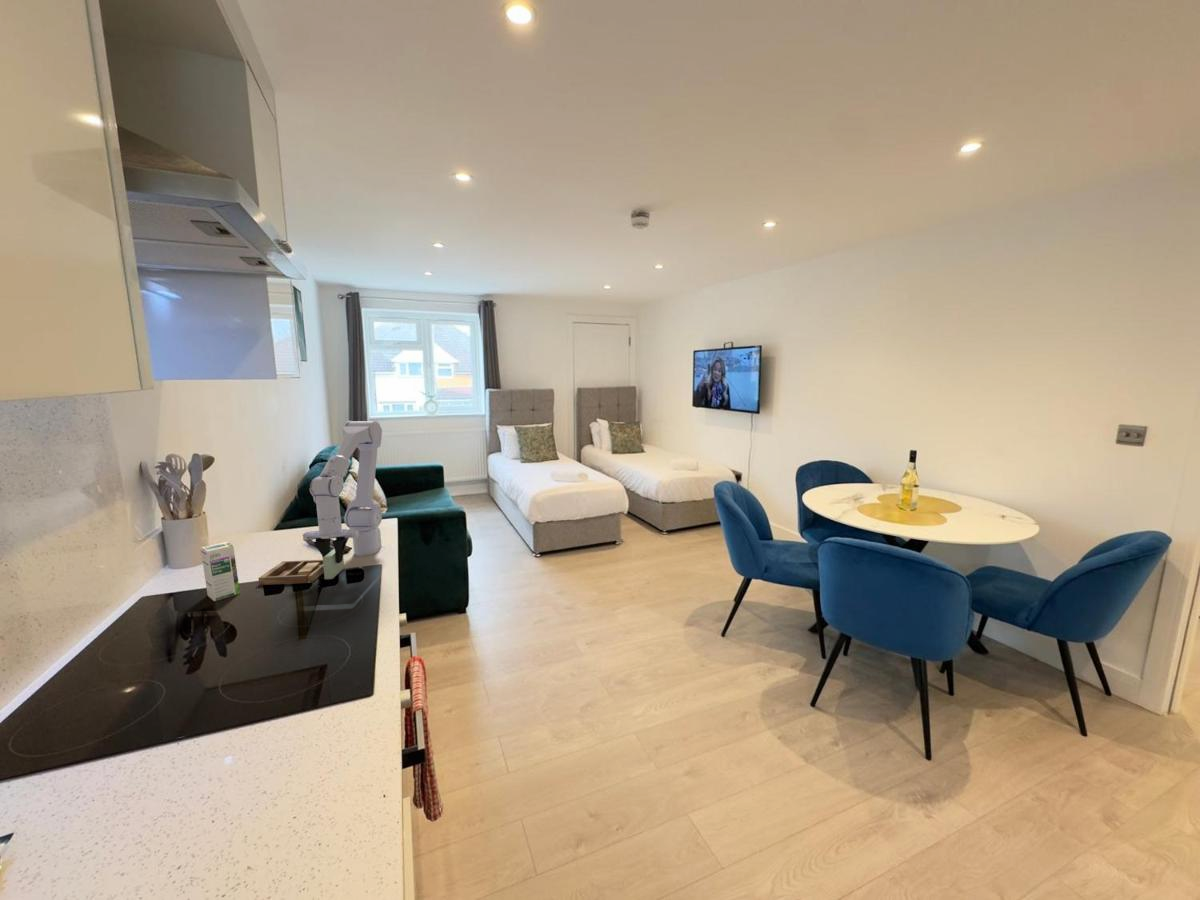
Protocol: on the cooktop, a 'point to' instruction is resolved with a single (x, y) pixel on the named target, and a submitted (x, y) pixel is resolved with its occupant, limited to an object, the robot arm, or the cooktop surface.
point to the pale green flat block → (332, 565)
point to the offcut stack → (309, 569)
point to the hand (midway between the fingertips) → (333, 562)
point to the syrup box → (220, 571)
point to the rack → (290, 573)
